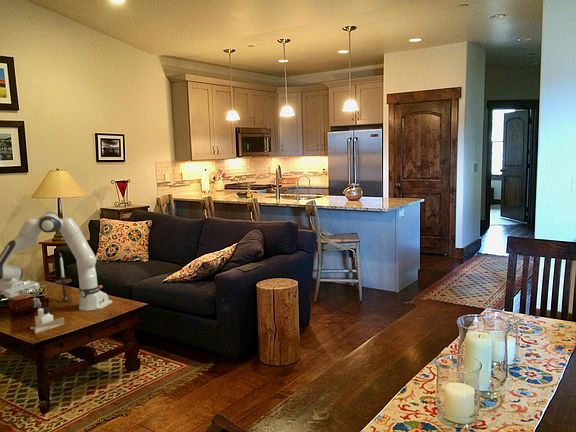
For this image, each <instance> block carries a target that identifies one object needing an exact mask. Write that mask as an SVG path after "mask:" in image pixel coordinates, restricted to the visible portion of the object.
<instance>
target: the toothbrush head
mask: <svg viewBox="0 0 576 432" xmlns="http://www.w3.org/2000/svg"><path fill="white" fill-rule="evenodd" d="M33 301H34V302H33V303H34V306H33V308H42V303H43V302H41V300H40V298H38V297H35V298H33Z"/></svg>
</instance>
